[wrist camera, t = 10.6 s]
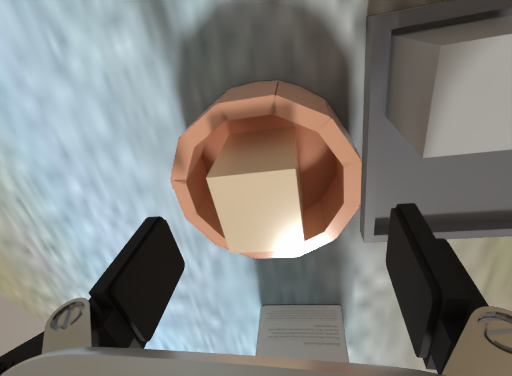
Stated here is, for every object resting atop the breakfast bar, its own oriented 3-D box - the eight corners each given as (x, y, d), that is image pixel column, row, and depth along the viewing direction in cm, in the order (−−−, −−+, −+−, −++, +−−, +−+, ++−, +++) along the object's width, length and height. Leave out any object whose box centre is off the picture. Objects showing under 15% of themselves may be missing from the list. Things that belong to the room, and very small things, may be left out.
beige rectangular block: (295, 125, 15) (295, 168, 11) (302, 192, 17) (305, 249, 13) (229, 134, 16) (205, 178, 12) (244, 197, 18) (230, 253, 14)
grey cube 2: (496, 15, 12) (611, 16, 7) (475, 104, 14) (555, 144, 9) (391, 34, 12) (440, 45, 8) (385, 116, 14) (422, 158, 10)
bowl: (348, 66, 14) (364, 80, 11) (348, 215, 19) (358, 254, 16) (173, 95, 15) (144, 114, 12) (215, 224, 20) (202, 260, 17)
